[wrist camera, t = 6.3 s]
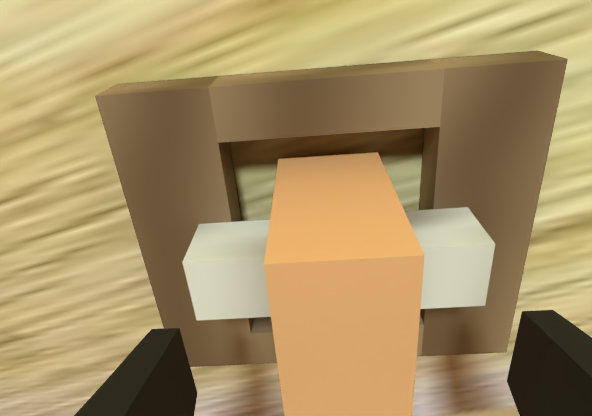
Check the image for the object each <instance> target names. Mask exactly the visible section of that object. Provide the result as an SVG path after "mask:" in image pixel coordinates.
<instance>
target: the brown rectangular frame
mask: <svg viewBox="0 0 592 416" xmlns="http://www.w3.org/2000/svg"><path fill="white" fill-rule="evenodd" d="M567 60H568V59H566V58H562V57H558V56H555V55H551V54H547V53H544V52H540V51H529V52H517V53H504V54H491V55H479V56H466V57H454V58H441V59H428V60H416V61H403V62H391V63H378V64H366V65H353V66H340V67H328V68H315V69H303V70H290V71H277V72H265V73H252V74H240V75H227V76H214V77H202V78H189V79H177V80H164V81H151V82H139V83H126V84H117V85H115V86H113V87H111V88H109V89H107V90H106V91H104V92H102V93H100V94H98V95H96V96H95V97H96V101H97V104H98V107H99V111H100V114H101V118H102V121H103V124H104V128H105V131H106V134H107V138H108V141H109V145H110V148H111V151H112V155H113V158H114V161H115V165H116V168H117V171H118V175H119V178H120V182H121V185H122V188H123V192H124V195H125V198H126V202H127V205H128V209H129V212H130V215H131V219H132V222H133V225H134V229H135V232H136V236H137V239H138V242H139V246H140V249H141V252H142V256H143V259H144V263H145V266H146V269H147V273H148V276H149V279H150V283H151V286H152V290H153V293H154V296H155V300H156V303H157V306H158V310H159V313H160V316H161V320H162V323H163V327H164V329H168V328H180V332H181V336H182V339H183V343H184V347H185V350H186V354H187V358H188V361H189V365H190V367H199V366H220V365H242V364H264V363H277V358H276V351H275V344H274V336H273V329H272V322H271V314H270V307H269V299H268V292H267V285H266V277H265V270H264V259H265V252H266V244H267V237H268V230H269V223H270V220H254V221H242V220H241V213H240V207H239V201H238V194H237V188H236V182H235V175H234V169H233V163H232V157H231V150H230V144H229V142H235V141H249V140H263V139H277V138H291V137H305V136H319V135H333V134H347V133H361V132H375V131H388V130H402V129H416V128H424V143H423V159H422V174H421V190H420V206H419V210H414V211H405V213H406V216H407V218H408V220H409V222H410V224H411V227H412V229H413V231H414V233H415V235H416V238H417V240H418V242H419V244H420V246H421V249H422V251H423V253H424V255H425V256H424V269H423V282H422V295H421V308H420V321H419V334H418V347H417V356H437V355H458V354H480V353H502V352H507V347H508V342H509V337H510V332H511V328H512V323H513V318H514V313H515V309H516V304H517V299H518V294H519V289H520V285H521V280H522V275H523V270H524V265H525V261H526V256H527V251H528V246H529V242H530V237H531V232H532V227H533V222H534V218H535V213H536V208H537V203H538V198H539V194H540V189H541V184H542V179H543V175H544V170H545V165H546V160H547V155H548V151H549V146H550V141H551V136H552V131H553V127H554V122H555V117H556V112H557V108H558V103H559V98H560V93H561V88H562V84H563V79H564V74H565V69H566V64H567Z"/></svg>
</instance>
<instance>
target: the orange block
mask: <svg viewBox="0 0 592 416" xmlns="http://www.w3.org/2000/svg"><path fill="white" fill-rule="evenodd" d="M424 256H425V255H424V253H423V251H422V249H421V246H420V244H419V242H418V240H417V238H416V235H415V233H414V231H413V229H412V227H411V224H410V222H409V220H408V218H407V216H406V213H405V211H404V209H403V207H402V205H401V202H400V200H399V198H398V196H397V194H396V191H395V189H394V187H393V185H392V183H391V180H390V178H389V176H388V174H387V172H386V169H385V167H384V165H383V163H382V161H381V158H380V156H379V154H378V152H373V153H358V154H343V155H328V156H313V157H298V158H283V159H278V165H277V172H276V179H275V186H274V194H273V201H272V208H271V215H270V223H269V230H268V237H267V244H266V252H265V259H264V270H265V277H266V285H267V292H268V299H269V307H270V314H271V322H272V329H273V336H274V344H275V351H276V358H277V366H278V373H279V381H280V388H281V395H282V403H283V410H284V416H412V411H413V398H414V385H415V372H416V359H417V347H418V334H419V321H420V308H421V295H422V282H423V269H424Z"/></svg>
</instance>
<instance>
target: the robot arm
mask: <svg viewBox="0 0 592 416" xmlns="http://www.w3.org/2000/svg"><path fill="white" fill-rule="evenodd" d="M507 382H508V385H509V387H510V390H511V393H512V396H513V398H514V401H515V404H516V407H517V409H518V412H519V414H520V416H592V338H591V337H590V336H588V335H587V334H586V333H584V332H583V331H582V330H580V329H579V328H577V327H576V326H575V325H573V324H572V323H571V322H569V321H568V320H566V319H565V318H564V317H562V316H561V315H559V314H558V313H556V312H555V311H553V310H543V311H522V315H521V319H520V324H519V328H518V333H517V338H516V342H515V347H514V351H513V356H512V360H511V365H510V369H509V374H508V379H507ZM196 398H197V390H196V387H195V383H194V379H193V376H192V372H191V369H190V365H189V361H188V358H187V354H186V350H185V347H184V343H183V339H182V336H181V332H180V328H168V329H152V330H151V331H150V332H149V333H148V334H147V335H146V336H145V337H144V338H143V339H142V341H141V342H140V343H139V344H138V345H137V346H136V347H135V348H134V350H133V351H132V352H131V353H130V354H129V355H128V356H127V358H126V359H125V360H124V361H123V362H122V363H121V364H120V365H119V367H118V368H117V369H116V370H115V371H114V372H113V373H112V375H111V376H110V377H109V378H108V379H107V380H106V381H105V382H104V384H103V385H102V386H101V387H100V388H99V389H98V390H97V391H96V392H95V394H94V395H93V396H92V397H91V398H90V399H89V400H88V401H87V402H86V403H85V404H84V406H83V407H82V408H81V409H80V410H79V411H78V412H77V413H76V414H75V415H74V416H194V410H195V404H196Z"/></svg>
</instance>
